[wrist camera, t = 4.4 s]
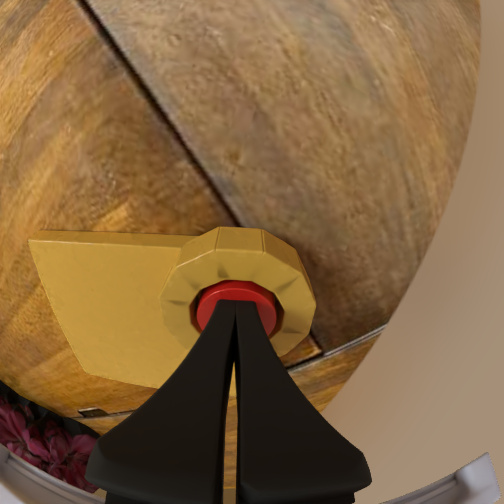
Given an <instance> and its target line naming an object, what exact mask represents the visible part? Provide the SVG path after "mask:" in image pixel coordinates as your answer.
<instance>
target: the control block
mask: <svg viewBox="0 0 504 504" xmlns="http://www.w3.org/2000/svg"><path fill="white" fill-rule="evenodd" d="M28 243H29V246H30V249H31V253H32V256H33V259H34V262H35V265H36V268H37V271H38V274H39V277H40V279H41V282H42V285H43V287H44V290H45V292H46V295H47V297H48V300H49V302H50V305H51V307H52V309H53V311H54V314H55V316H56V318H57V320H58V322H59V324H60V327H61V329H62V331H63V333H64V335H65V337H66V339H67V341H68V342H69V344H70V346H71V348H72V350H73V352H74V354H75V355H76V357H77V359H78V361H79V362H80V364H81V366H82V368H83V369H84V371H85V373H88V374H92V375H96V376H99V377H104V378H108V379H112V380H116V381H121V382H126V383H131V384H136V385H141V386H147V387H152V388H160V387H161V386H162V385H163V384H164V383H165V382H166V380H167V379H168V378H169V377H170V376H171V375H172V374H173V372H174V371H175V370H176V369H177V367H178V366H179V365H180V364H181V362H182V361H183V360H184V358H185V357H186V356H187V354H188V353H189V351H190V350H191V348H192V347H193V345H194V344H195V343H196V341H197V339H198V338H199V336H200V334H201V333H202V331H203V330H202V329H201V327H200V326H199V323H198V320H197V310H198V305H199V301H200V296H201V292H202V289H203V288H206V287H208V286H211V285H213V284H215V283H218V282H220V281H223V280H242V281H253V282H254V283H256V284H258V285H260V286H262V287H264V288H266V289H267V290H269V291H271V292H273V293H274V299H275V308H276V317H277V318H276V324H275V326H274V329H273V330H272V332H271V333H270V334H269V335H268V338H269V340H270V342H271V344H272V346H273V348H274V350H275V352H276V353H277V355H278V357H280V356H283V355H286V354H287V353H288V352H289V351H290V350H291V349H293V348H294V347H295V346H296V345H297V344H298V343H299V342H301V341H302V340H303V339H304V338H305V337H306V336H307V335H308V333H309V331H310V327H311V324H312V320H313V317H314V313H315V310H316V305H317V303H316V300H315V297H314V293H313V290H312V287H311V283H310V280H309V277H308V275H307V273H306V270H305V268H304V266H303V264H302V262H301V260H300V257H299V255H298V253H297V251H296V250H295V249H294V248H293V247H291V246H290V245H288V244H287V243H285V242H284V241H282V240H280V239H278V238H277V237H275V236H274V235H272V234H270V233H269V232H267V231H266V230H264V229H257V228H239V227H217V228H215V229H213V230H211V231H209V232H207V233H205V234H203V235H201V236H188V235H166V234H142V233H116V232H87V231H52V230H39V231H38V232H37V233H36V234H34V235H33V236H32V237H31V238H30V239H28ZM229 396H236V384H235V368H234V366H233V372H232V379H231V386H230V392H229Z"/></svg>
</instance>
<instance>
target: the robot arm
mask: <svg viewBox="0 0 504 504" xmlns="http://www.w3.org/2000/svg"><path fill="white" fill-rule="evenodd" d="M233 366H234V368H235V384H236V399H237V415H238V427H237V467H236V504H352V503H354V502H355V498H354V493H355V492H357V491H359V490H361V489H363V488H365V487H367V486H369V485H370V484H371V482H372V478H371V473H370V469H369V467H368V464H367V461H366V459H365V457H364V455H363V453H362V452H361V451H360V450H359V449H357V448H356V447H355V446H354V445H352V444H351V443H350V442H349V441H348V440H347V439H345V438H344V437H343V436H342V435H341V434H340V433H339V432H337V430H335V429H334V428H333V427H332V426H331V425H330V424H329V423H328V422H327V421H326V420H325V419H324V418H323V417H322V415H321V414H320V413H319V412H318V411H317V410H316V409H315V408H314V406H313V405H312V404H311V403H310V402H309V401H308V400H307V398H306V397H305V396H304V394H303V393H302V392H301V391H300V389H299V388H298V387H297V385H296V384H295V382H294V381H293V379H292V378H291V377H290V375H289V374H288V372H287V370H286V369H285V367H284V366H283V364H282V362H281V360H280V359H279V357H278V355H277V353H276V352H275V350H274V348H273V346H272V344H271V342H270V340H269V338H268V335H267V333H266V331H265V329H264V326H263V324H262V321H261V318H260V316H259V312H258V309H257V304H256V303H255V302H254V301H244V300H225V299H219V300H218V301H217V302H216V305H215V308H214V310H213V312H212V315H211V317H210V319H209V320H208V322H207V324H206V326H205V328H204V329H203V331H202V333H201V334H200V336H199V338H198V339H197V341H196V343H195V344H194V345H193V347H192V348H191V350H190V351H189V353H188V354H187V356H186V357H185V358H184V360H183V361H182V362H181V364H180V365H179V366H178V367H177V369H176V370H175V371H174V372H173V374H172V375H171V376H170V377H169V378H168V379H167V380H166V382H165V383H164V384H163V385H162V386H161V387H160V388H159V389H158V390H157V391H156V392H155V393H154V394H153V395H152V396H151V397H150V398H149V399H148V400H147V401H146V402H145V403H144V404H142V405H141V406H140V407H139V408H138V409H137V410H136V411H134V412H133V413H132V414H131V415H130V416H129V417H127V418H126V419H125V420H124V421H122V422H121V423H119V424H118V425H117V426H115V427H114V428H112V429H111V430H110V431H108V432H107V433H105V434H104V435H102V436H101V437H99V438H98V439H97V441H96V443H95V445H94V447H93V450H92V452H91V454H90V457H89V460H88V464H87V468H86V472H85V476H84V477H85V479H86V480H87V482H89V483H91V484H93V485H95V486H97V487H99V488H101V489H103V490H105V491H107V494H106V499H104V498H102V497H99V496H96V495H94V494H91V493H88V492H86V491H83V490H81V489H79V488H76V487H74V486H72V485H70V484H68V483H65V482H63V481H61V480H59V479H57V478H55V477H53V476H51V475H49V474H47V473H46V472H44V471H42V470H40V469H38V468H37V467H35V466H33V465H31V464H30V463H28V462H26V461H25V460H23V459H22V458H20V457H19V456H17V455H15V454H14V453H12V452H11V451H9V449H7V448H6V447H5V446H3V445H2V444H1V443H0V504H223V484H224V451H225V426H226V413H227V406H228V399H229V392H230V386H231V379H232V372H233ZM500 497H501V493H500V489H499V485H498V482H497V478H496V475H495V471H494V468H493V465H492V462H491V459H490V456H489V453H488V452H486V453H484V454H483V455H482V456H480V457H478V458H477V459H475V460H473V461H472V462H470V463H468V464H467V465H465V466H463V467H462V468H460V469H458V470H457V471H456V472H454V473H452V474H450V475H448V476H446V477H444V478H442V479H440V480H438V481H436V482H434V483H432V484H430V485H428V486H425V487H423V488H421V489H419V490H416V491H414V492H411V493H409V494H406V495H404V496H401V497H398V498H395V499H392V500H389V501H386V502H383V503H380V504H493V503H494V502H495V501H497V500H498V499H499V498H500Z"/></svg>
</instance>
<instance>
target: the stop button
mask: <svg viewBox="0 0 504 504" xmlns="http://www.w3.org/2000/svg"><path fill="white" fill-rule="evenodd" d="M219 299H225V300H244V301H254V302H255V303H256V304H257V309H258V312H259V316H260V318H261V321H262V324H263V326H264V329H265V331H266V333H267V335H269V334H270V333H271V332H272V330H273V329H274V326H275V324H276V318H277V317H276V308H275V299H274V293H273V292H271V291H269V290H267V289H266V288H264V287H262V286H260V285H258V284H256V283H254V282H253V281H242V280H223V281H220V282H218V283H215V284H213V285H211V286H208V287H206V288H203V289H202V292H201V296H200V301H199V305H198V310H197V320H198V323H199V326H200V327H201V329H202V330H203V329H204V328H205V326H206V324H207V322H208V320H209V319H210V317H211V315H212V312H213V310H214V308H215V305H216V302H217V301H218V300H219Z"/></svg>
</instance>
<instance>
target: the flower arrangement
mask: <svg viewBox="0 0 504 504" xmlns="http://www.w3.org/2000/svg"><path fill="white" fill-rule="evenodd" d="M99 437H101V436H100V435H99V434H97V433H96V432H94V431H93V430H91V429H90V428H89V427H87V426H85V425H83V424H81V423H79V422H77V421H74V420H72V419H69V418H62V417H60V416H58V415H56V414H55V413H53V412H51V411H49V410H47V409H45V408H43V407H41V406H39V405H36V404H35V403H33V402H31V401H29V400H27V399H25V398H23V397H21V396H19V395H18V394H17V393H15V392H14V391H13V390H11V389H10V388H9V387H8V386H6V385H5V384H4V383H3V382H1V381H0V443H1V444H2V445H3V446H5V447H6V448H7V449H9V451H11V452H12V453H14V454H15V455H17V456H19V457H20V458H22V459H23V460H25V461H26V462H28V463H30V464H31V465H33V466H35V467H37V468H38V469H40V470H42V471H44V472H46V473H47V474H49V475H51V476H53V477H55V478H57V479H59V480H61V481H63V482H65V483H68V484H70V485H72V486H74V487H76V488H79V489H81V490H83V491H86V492H88V493H91V494H92V493H94V492H95V491H96V490H97V489H99V487H97V486H95V485H93V484H91V483H89V482H87V480H86V479H85V477H84V476H85V472H86V468H87V464H88V460H89V457H90V454H91V452H92V450H93V447H94V445H95V443H96V441H97V439H98V438H99Z"/></svg>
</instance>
